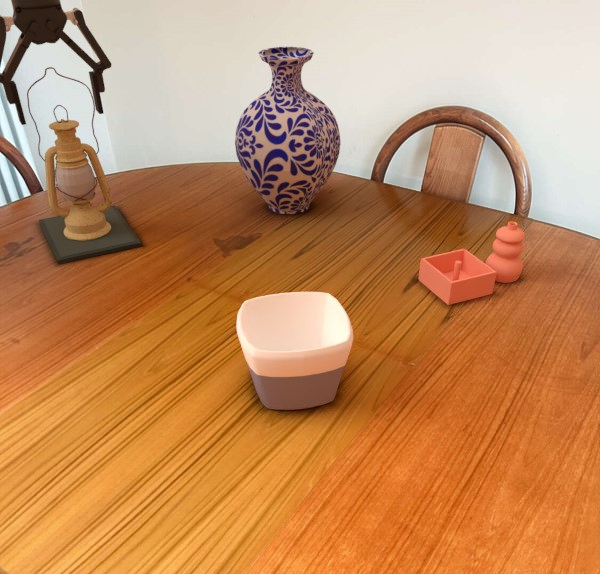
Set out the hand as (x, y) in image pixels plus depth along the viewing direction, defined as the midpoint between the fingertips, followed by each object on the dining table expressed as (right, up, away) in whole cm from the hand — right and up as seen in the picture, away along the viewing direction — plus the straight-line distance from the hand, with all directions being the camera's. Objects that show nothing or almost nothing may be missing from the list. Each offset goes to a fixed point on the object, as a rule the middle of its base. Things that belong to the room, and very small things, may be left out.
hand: (62, 117), depth 118 cm
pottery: (+74, -30, -1) cm, 80 cm away
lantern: (0, -17, +14) cm, 22 cm away
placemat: (0, -17, +14) cm, 23 cm away
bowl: (+42, -49, -24) cm, 69 cm away
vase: (+40, -9, +25) cm, 48 cm away
